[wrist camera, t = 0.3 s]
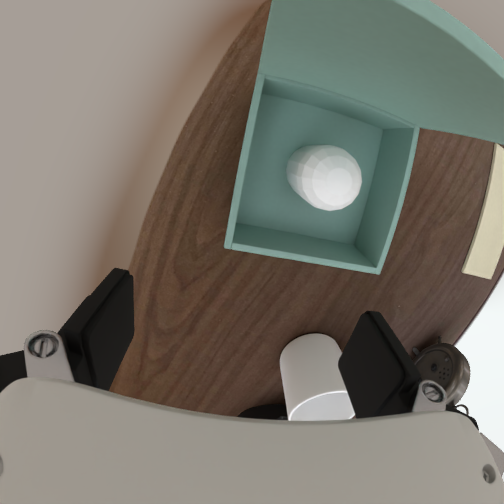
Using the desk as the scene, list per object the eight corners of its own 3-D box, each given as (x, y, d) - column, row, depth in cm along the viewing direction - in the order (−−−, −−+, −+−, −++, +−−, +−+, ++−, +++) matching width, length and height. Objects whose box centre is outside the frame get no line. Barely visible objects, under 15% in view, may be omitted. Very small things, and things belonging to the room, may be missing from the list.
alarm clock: (401, 378, 39) (438, 448, 24) (386, 370, 37) (425, 447, 22) (446, 334, 36) (496, 398, 20) (434, 322, 34) (490, 391, 19)
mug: (363, 316, 33) (396, 370, 23) (362, 359, 36) (386, 411, 26) (273, 338, 33) (283, 402, 24) (283, 379, 36) (292, 437, 27)
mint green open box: (354, 248, 29) (379, 274, 23) (228, 225, 28) (223, 248, 22) (386, 126, 24) (420, 124, 18) (254, 88, 23) (258, 70, 17)
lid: (572, 170, 4) (574, 155, 4) (279, -38, 3) (285, -57, 3) (422, 128, 18) (424, 120, 17) (257, 73, 16) (259, 63, 16)
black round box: (290, 445, 47) (296, 473, 40) (218, 427, 41) (220, 461, 34) (342, 411, 43) (354, 441, 36) (272, 387, 37) (281, 426, 31)
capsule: (324, 206, 27) (353, 230, 19) (276, 184, 26) (290, 199, 18) (346, 160, 25) (384, 167, 18) (299, 135, 24) (323, 131, 17)
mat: (494, 142, 24) (497, 143, 23) (520, 165, 25) (522, 165, 24) (460, 271, 31) (463, 272, 31) (488, 277, 32) (490, 279, 31)
